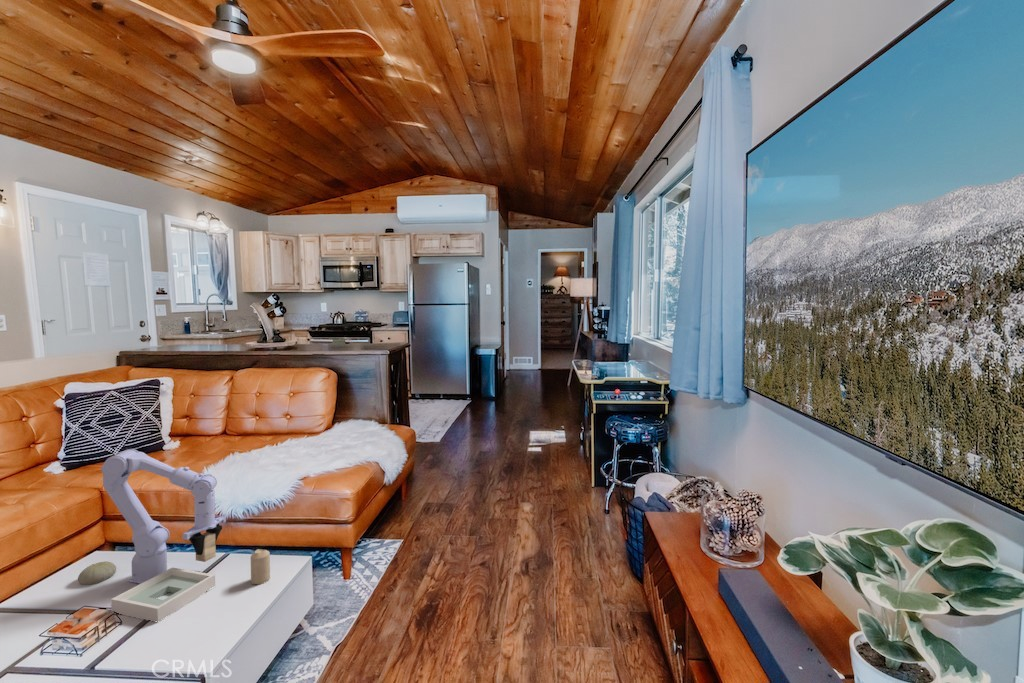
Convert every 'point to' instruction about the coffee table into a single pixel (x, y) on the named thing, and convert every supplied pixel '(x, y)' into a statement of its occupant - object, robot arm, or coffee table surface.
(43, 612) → the coffee table surface
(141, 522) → the robot arm
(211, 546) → the peg
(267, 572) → the candle
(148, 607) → the tray
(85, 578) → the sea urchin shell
